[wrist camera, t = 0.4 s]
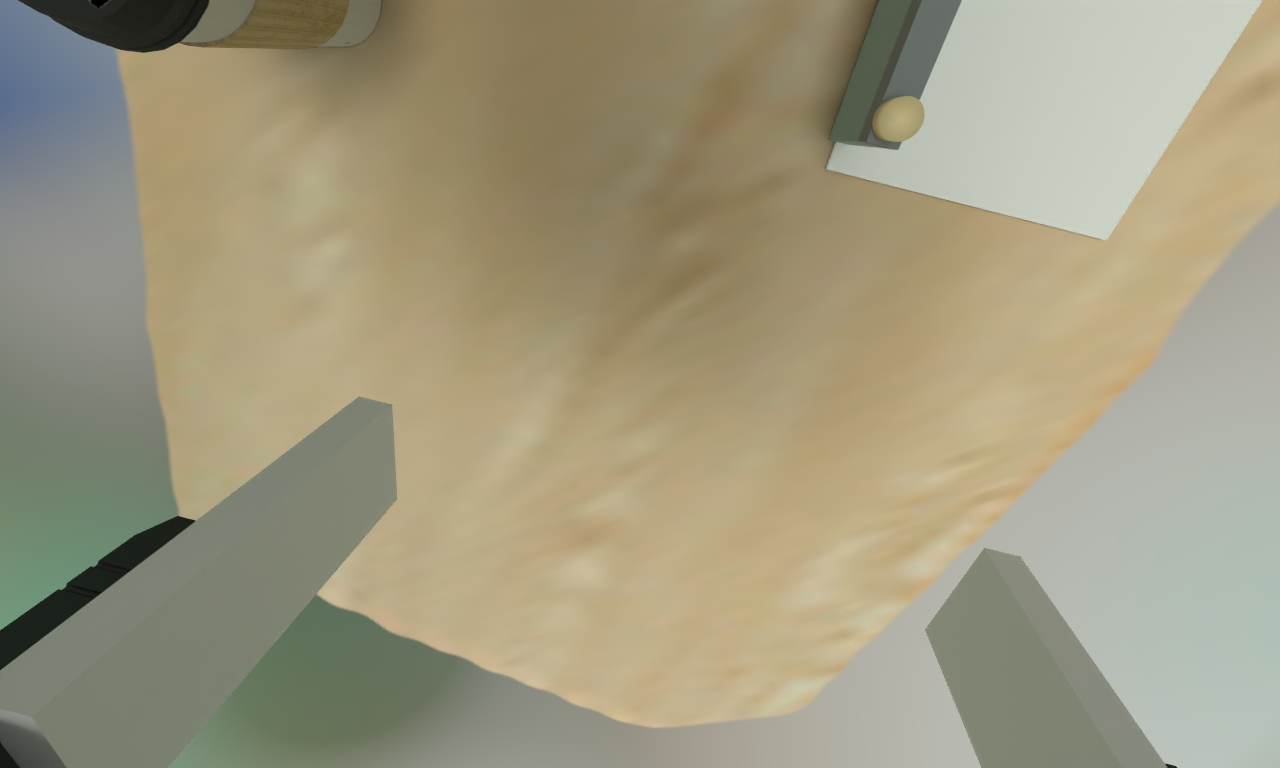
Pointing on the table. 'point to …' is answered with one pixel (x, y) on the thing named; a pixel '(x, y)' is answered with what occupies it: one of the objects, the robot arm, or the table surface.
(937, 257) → the table surface
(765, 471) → the table surface
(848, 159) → the mat
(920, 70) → the gate
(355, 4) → the coffee cup
